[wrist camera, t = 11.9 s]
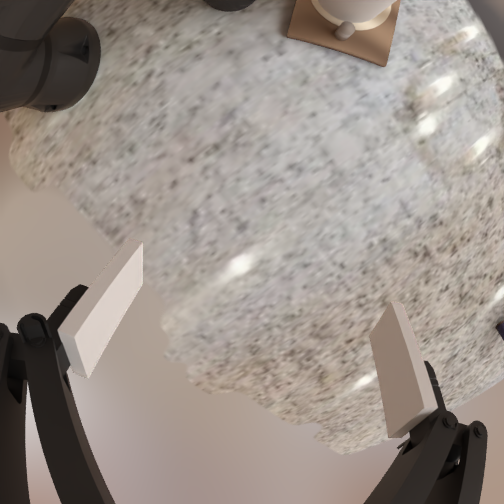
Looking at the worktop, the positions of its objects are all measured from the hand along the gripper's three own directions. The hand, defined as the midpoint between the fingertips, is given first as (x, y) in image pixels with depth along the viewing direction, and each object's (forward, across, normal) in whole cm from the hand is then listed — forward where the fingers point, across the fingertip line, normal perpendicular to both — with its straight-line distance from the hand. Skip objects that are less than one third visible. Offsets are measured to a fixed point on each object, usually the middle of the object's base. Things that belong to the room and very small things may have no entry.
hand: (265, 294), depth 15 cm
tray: (+26, +3, +24) cm, 36 cm away
